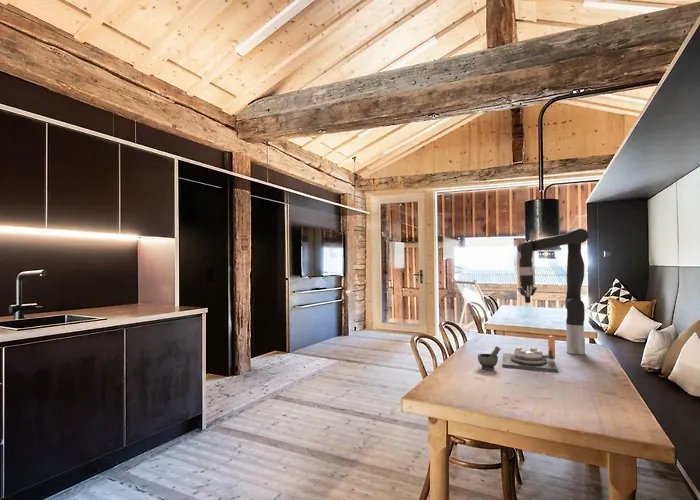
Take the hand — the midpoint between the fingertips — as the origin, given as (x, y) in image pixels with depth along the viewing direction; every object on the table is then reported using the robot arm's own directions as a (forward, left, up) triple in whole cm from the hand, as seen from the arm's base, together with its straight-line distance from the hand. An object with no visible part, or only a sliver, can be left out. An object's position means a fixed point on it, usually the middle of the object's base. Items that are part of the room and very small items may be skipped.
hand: (527, 302), depth 238 cm
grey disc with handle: (-2, +27, -27) cm, 38 cm away
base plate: (+1, +28, -30) cm, 41 cm away
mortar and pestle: (+20, +48, -30) cm, 60 cm away
